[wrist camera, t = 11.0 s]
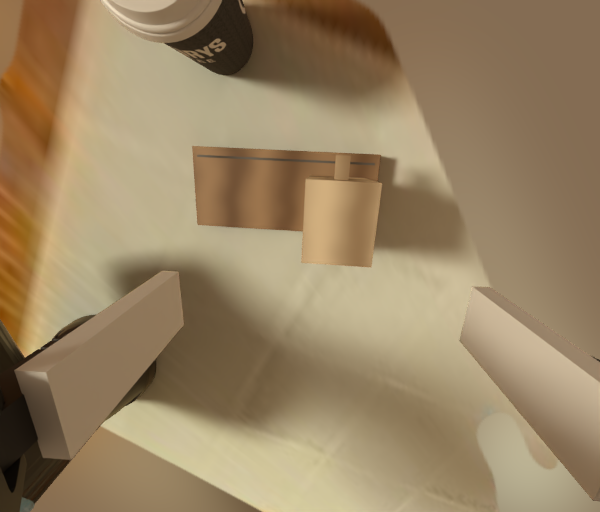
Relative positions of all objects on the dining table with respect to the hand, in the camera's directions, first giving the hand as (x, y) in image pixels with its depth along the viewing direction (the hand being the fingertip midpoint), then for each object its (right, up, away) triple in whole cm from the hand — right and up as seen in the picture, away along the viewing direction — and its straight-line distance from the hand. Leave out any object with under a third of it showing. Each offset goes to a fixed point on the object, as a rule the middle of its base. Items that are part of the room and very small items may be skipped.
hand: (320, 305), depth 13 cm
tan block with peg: (+3, +9, +21) cm, 23 cm away
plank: (-3, +10, +22) cm, 24 cm away
